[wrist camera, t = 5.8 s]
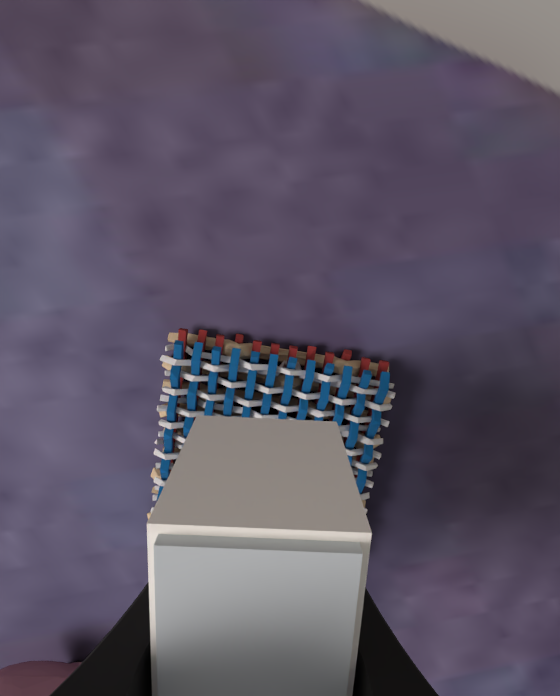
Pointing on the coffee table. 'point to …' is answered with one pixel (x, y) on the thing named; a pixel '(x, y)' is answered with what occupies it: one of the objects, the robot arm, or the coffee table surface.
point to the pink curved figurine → (34, 677)
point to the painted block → (257, 562)
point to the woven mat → (282, 384)
